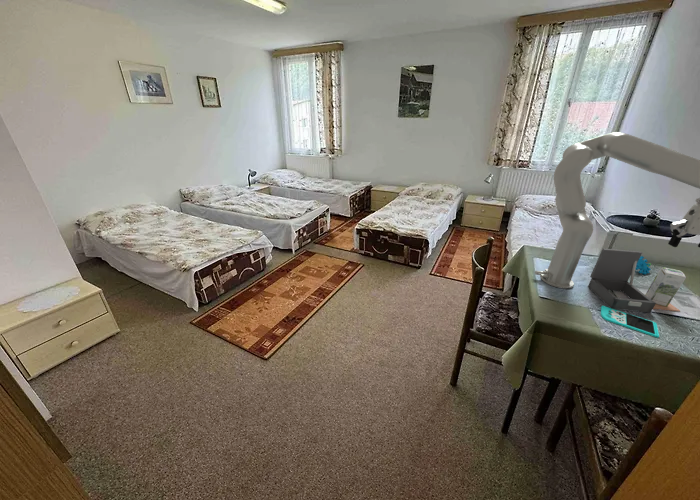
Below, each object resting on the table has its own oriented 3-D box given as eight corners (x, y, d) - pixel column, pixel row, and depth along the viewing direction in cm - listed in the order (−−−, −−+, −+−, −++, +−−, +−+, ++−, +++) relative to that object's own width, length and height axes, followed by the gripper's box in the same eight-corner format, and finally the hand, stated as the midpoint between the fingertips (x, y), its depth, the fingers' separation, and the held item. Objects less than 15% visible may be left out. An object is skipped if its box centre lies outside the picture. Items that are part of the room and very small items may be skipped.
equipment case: (611, 309, 113) (632, 268, 105) (586, 285, 129) (602, 248, 121) (651, 313, 111) (676, 272, 103) (621, 288, 127) (640, 251, 118)
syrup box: (662, 300, 118) (680, 269, 112) (667, 307, 114) (687, 276, 107) (644, 295, 121) (661, 266, 114) (648, 303, 116) (666, 272, 110)
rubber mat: (650, 308, 114) (651, 307, 113) (632, 294, 122) (633, 293, 122) (679, 311, 112) (680, 310, 112) (659, 297, 121) (660, 296, 121)
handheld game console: (600, 307, 115) (602, 304, 114) (655, 324, 106) (657, 321, 105) (599, 319, 108) (601, 316, 107) (658, 339, 99) (660, 336, 98)
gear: (639, 273, 136) (632, 253, 139) (625, 276, 141) (619, 257, 145) (656, 274, 138) (649, 255, 142) (642, 277, 144) (636, 258, 147)
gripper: (694, 203, 97) (668, 249, 104) (755, 207, 94) (724, 253, 102) (676, 198, 103) (653, 240, 111) (732, 201, 101) (704, 245, 108)
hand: (687, 247), depth 106 cm, fingers open, 9 cm apart
